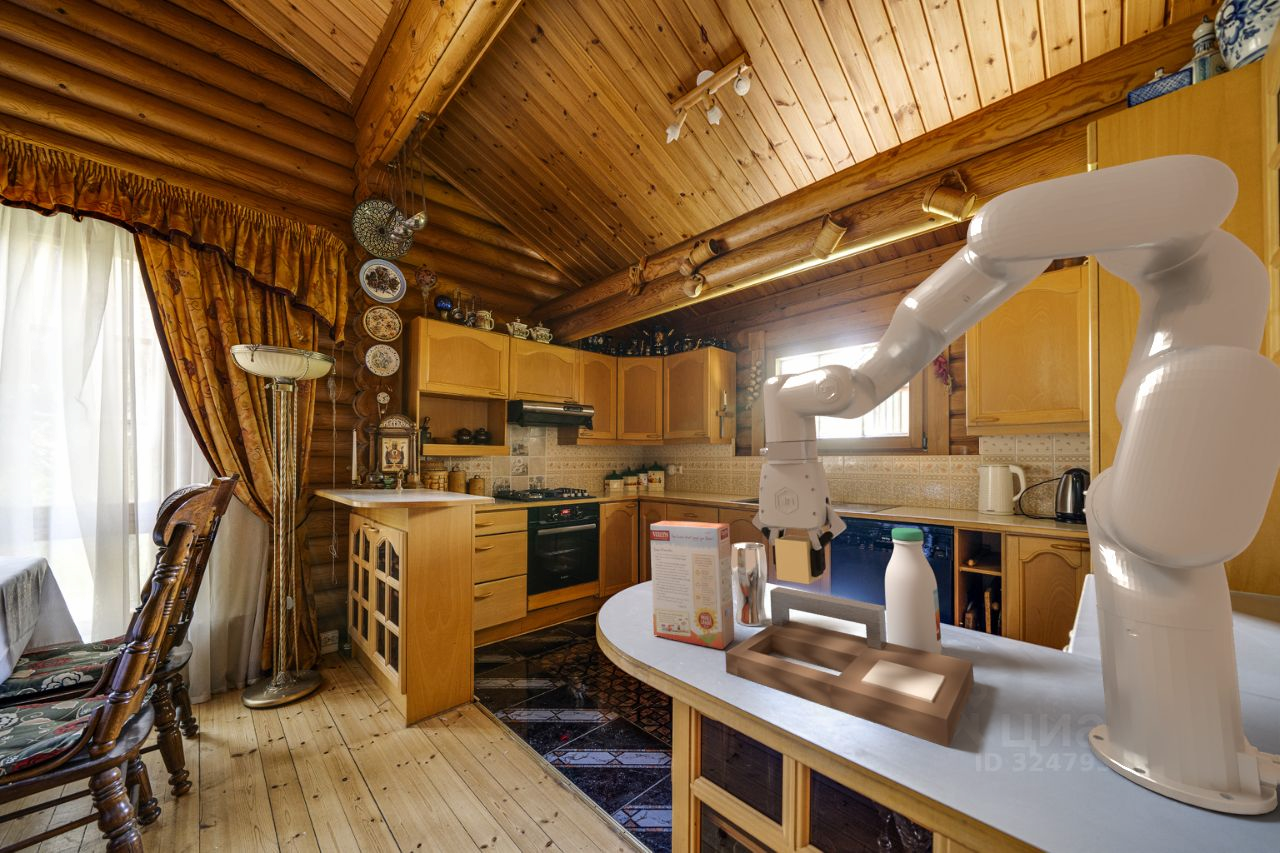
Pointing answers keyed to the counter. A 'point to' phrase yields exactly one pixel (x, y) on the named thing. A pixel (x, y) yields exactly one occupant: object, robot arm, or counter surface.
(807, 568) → the ochre block
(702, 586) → the cracker box
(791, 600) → the gray bridge block
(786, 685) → the brown wooden divided tray
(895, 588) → the milk bottle
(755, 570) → the beer glass
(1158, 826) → the counter surface
